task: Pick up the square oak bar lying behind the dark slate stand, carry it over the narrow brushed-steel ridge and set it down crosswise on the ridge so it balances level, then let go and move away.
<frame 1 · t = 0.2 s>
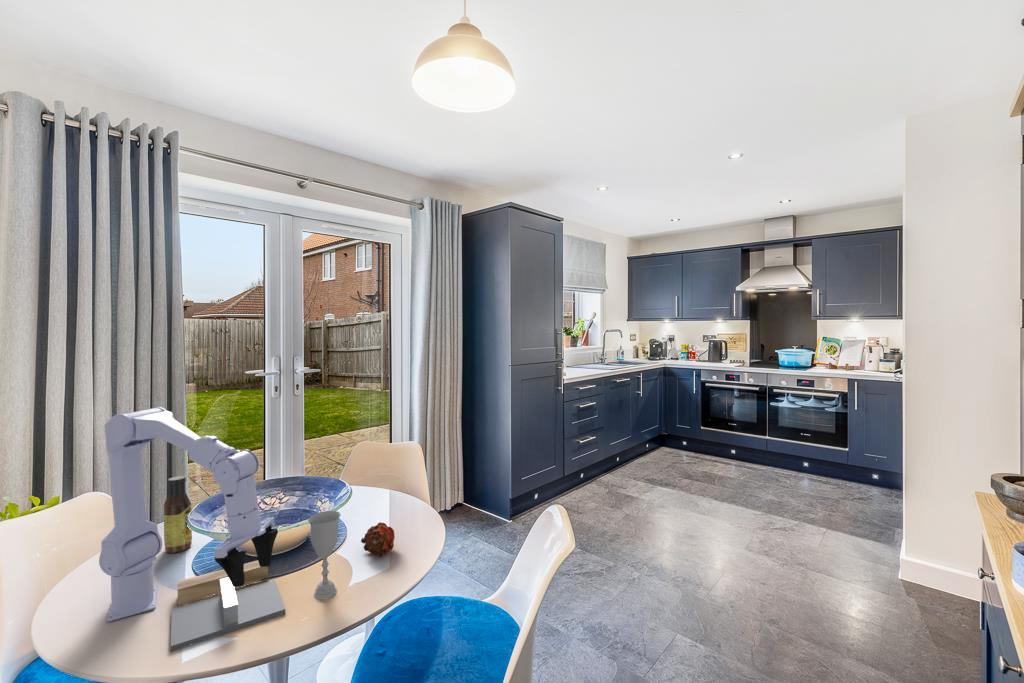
hand: (252, 575, 95), 10 cm above the table, tool pointing down, fingers open, 7 cm apart
steel ridge: (228, 600, 99), on the slate base plate, point 3 cm above the table
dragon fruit: (378, 552, 127), on the table
chalice: (325, 593, 107), on the table
slate base plate: (228, 613, 99), on the table
oak bar: (224, 589, 109), on the table
sauce bottle: (178, 549, 128), on the table
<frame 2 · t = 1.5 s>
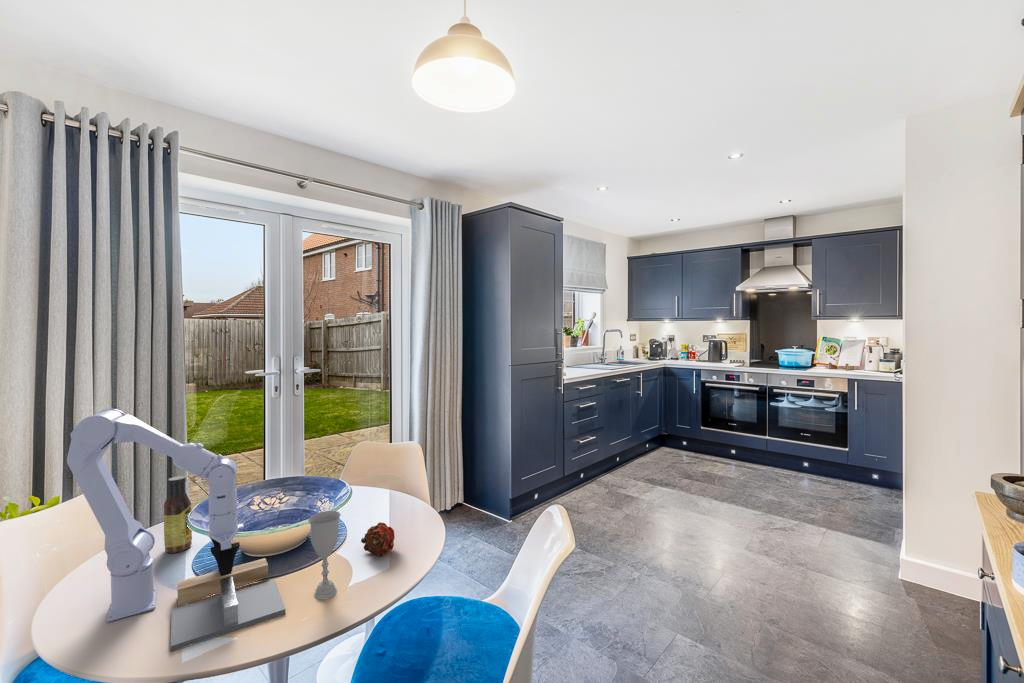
hand: (224, 567, 109), 5 cm above the table, tool pointing down, fingers open, 7 cm apart
nothing on the table moved.
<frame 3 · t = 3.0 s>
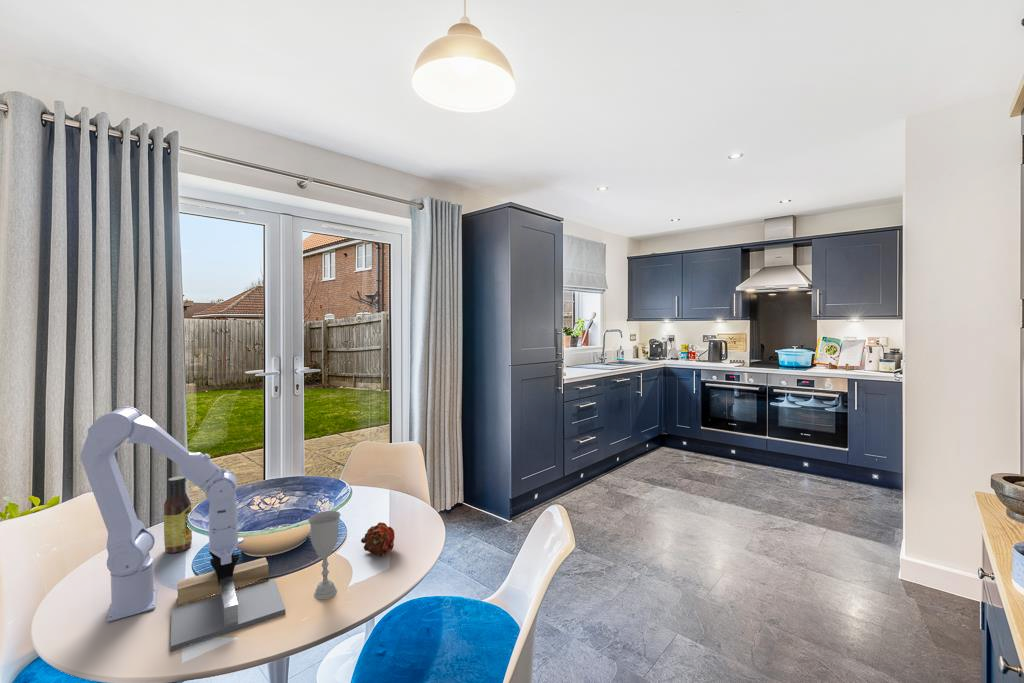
hand: (224, 581, 109), 2 cm above the table, tool pointing down, fingers closed on oak bar, 4 cm apart
oak bar: (224, 588, 109), on the table, touching gripper
everything else where it was.
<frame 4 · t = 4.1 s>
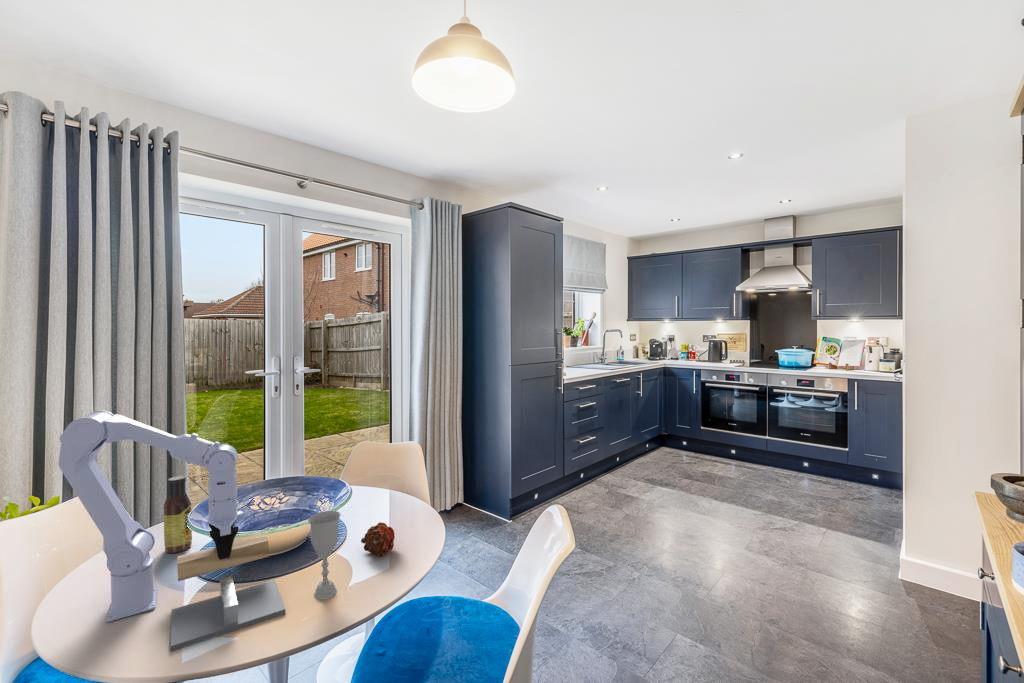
hand: (223, 554, 109), 8 cm above the table, tool pointing down, fingers closed on oak bar, 4 cm apart
oak bar: (224, 564, 109), point 6 cm above the table, touching gripper
everything else where it was.
when the fingers open (9 cm above the table, at t = 5.1 s): oak bar stays where it is, point 5 cm above the table.
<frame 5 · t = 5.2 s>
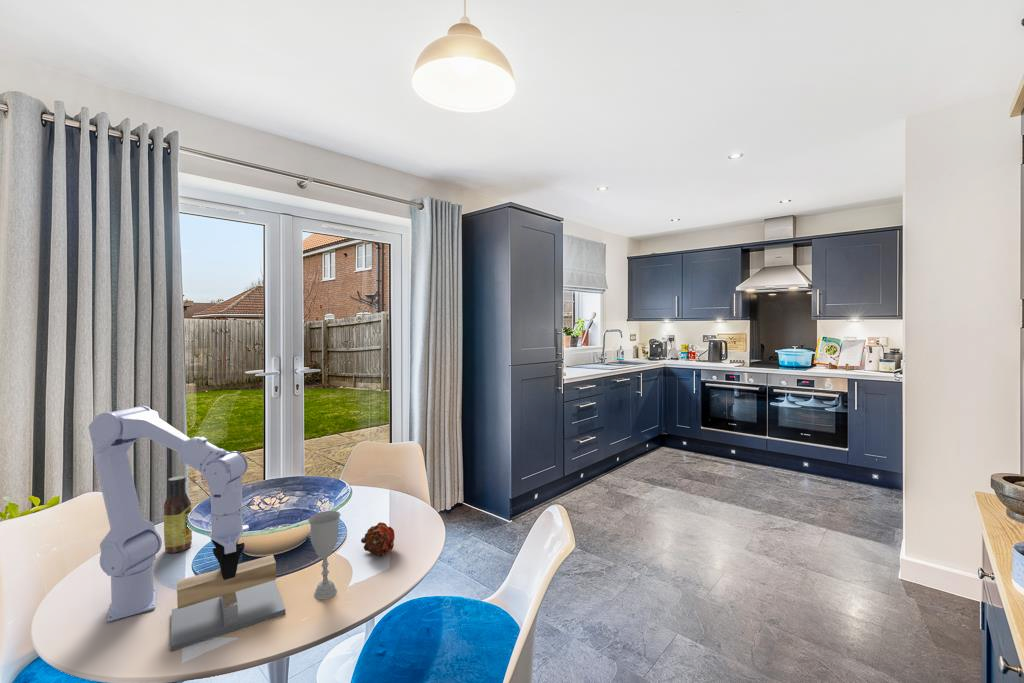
hand: (228, 572, 99), 9 cm above the table, tool pointing down
oak bar: (228, 589, 100), point 5 cm above the table, touching gripper
everything else where it was.
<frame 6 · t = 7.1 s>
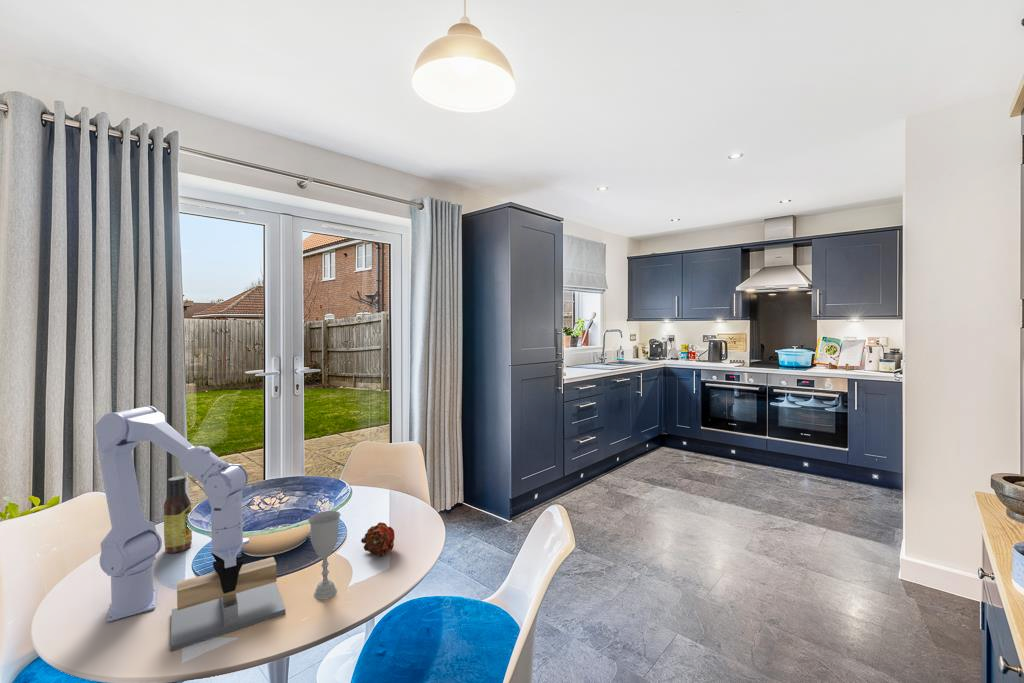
hand: (228, 585, 99), 6 cm above the table, tool pointing down, fingers open, 5 cm apart
oak bar: (228, 590, 99), point 5 cm above the table, touching steel ridge
everything else where it was.
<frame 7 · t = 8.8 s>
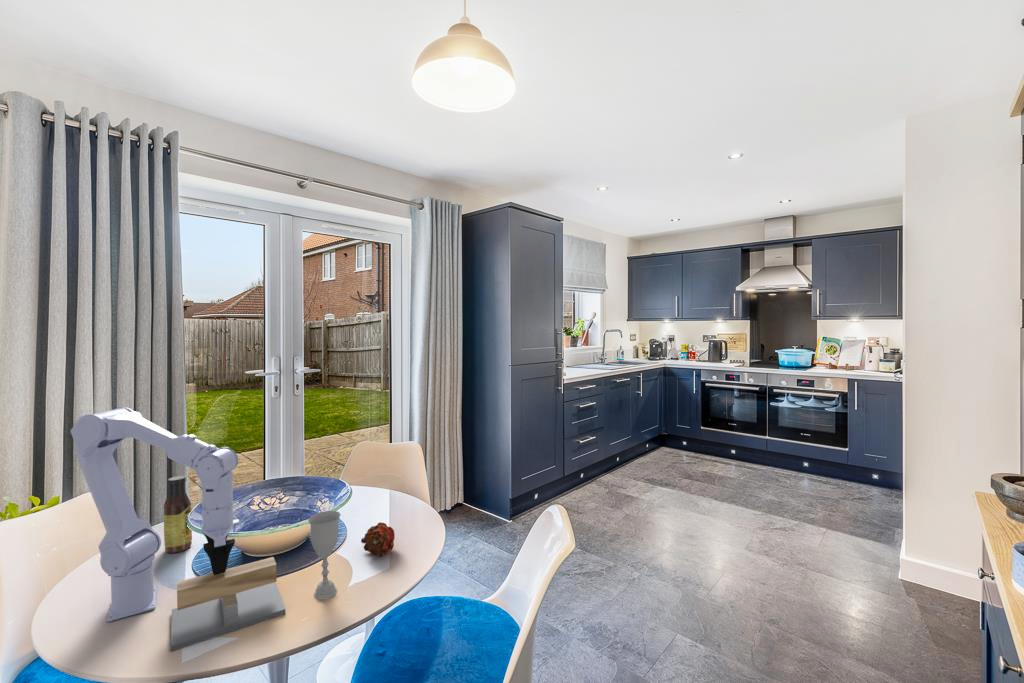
hand: (218, 565, 102), 9 cm above the table, tool pointing down, fingers open, 7 cm apart
nothing on the table moved.
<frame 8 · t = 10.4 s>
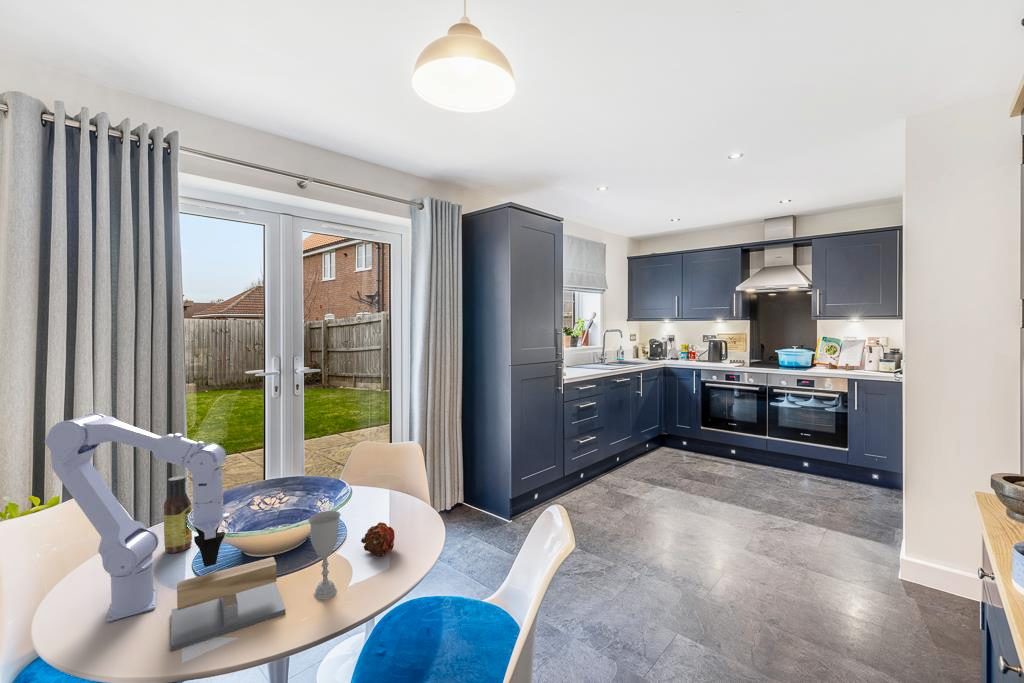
hand: (209, 558, 105), 9 cm above the table, tool pointing down, fingers open, 7 cm apart
nothing on the table moved.
at the end: oak bar 0.1 cm off-centre on the steel ridge, point 5.0 cm above the steel ridge's base; oak bar tilted 0°; oak bar touching steel ridge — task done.
